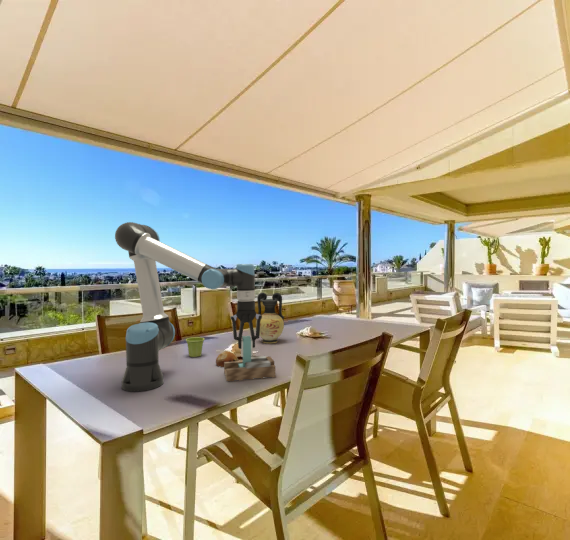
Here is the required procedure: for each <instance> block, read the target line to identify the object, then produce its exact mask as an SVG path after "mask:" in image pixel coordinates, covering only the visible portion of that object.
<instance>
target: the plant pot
mask: <svg viewBox="0 0 570 540" xmlns="http://www.w3.org/2000/svg"><path fill="white" fill-rule="evenodd" d="M185 341H186V344H187V351H188V357H190V358H197V357H201V356H202V352H203V351H202V350H203V345H204V341H205V338H204V337H200V336H199V337H198V336H195V337H188V338H186V339H185Z"/></svg>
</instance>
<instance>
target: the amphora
mask: <svg viewBox="0 0 570 540" xmlns="http://www.w3.org/2000/svg"><path fill="white" fill-rule="evenodd" d="M271 297H272V298H268V295H267V294H266V293H265V292H260V293H258V295H257V298H256V299H257V301H256V302H257V307H258V308H257V310H258V311H257V314H258V315H261V316H262V318H261V321H260V335H259V337H261V339H262V343H264V344H276V343H278V338H279V337H280V336H282V334H283V331H284V327H285V322H284V321H285V320H284V319H285V316H284V315H283V313H282V312H283V311H282V310H283V296H282V294H281V293H279V292H275V293H273V294H272V296H271ZM261 302H262V303H261ZM277 304H278V313H276V309H275V308H276V305H277ZM261 305H263V306H264V312H263V313H262V306H261ZM256 322H257V319H256V320H255V323H256Z"/></svg>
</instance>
